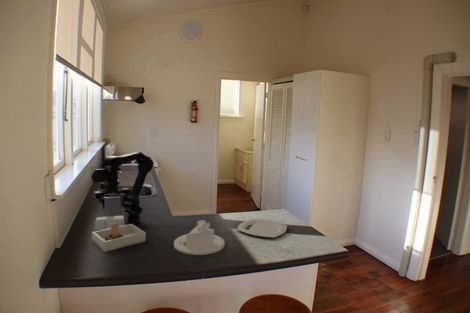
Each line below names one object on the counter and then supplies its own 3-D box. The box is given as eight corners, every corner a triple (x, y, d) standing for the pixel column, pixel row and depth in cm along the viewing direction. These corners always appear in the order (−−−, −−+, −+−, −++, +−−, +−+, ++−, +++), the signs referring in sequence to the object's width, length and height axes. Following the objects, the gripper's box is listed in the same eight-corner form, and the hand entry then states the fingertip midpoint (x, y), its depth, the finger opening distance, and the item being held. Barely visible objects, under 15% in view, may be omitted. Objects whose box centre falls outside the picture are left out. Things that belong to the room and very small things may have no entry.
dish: (197, 231, 165) (197, 211, 164) (234, 243, 151) (235, 221, 150) (163, 245, 145) (163, 223, 144) (202, 260, 131) (202, 235, 130)
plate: (230, 232, 165) (230, 229, 165) (250, 219, 189) (250, 216, 189) (276, 243, 153) (276, 239, 153) (292, 228, 177) (292, 224, 177)
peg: (117, 238, 149) (117, 222, 148) (120, 240, 146) (120, 224, 145) (109, 239, 146) (109, 223, 146) (112, 242, 144) (112, 226, 143)
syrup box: (95, 230, 160) (124, 228, 165) (95, 220, 159) (124, 218, 164) (96, 227, 165) (124, 225, 170) (96, 216, 165) (124, 215, 170)
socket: (119, 236, 151) (119, 232, 151) (125, 240, 146) (125, 236, 146) (105, 239, 146) (105, 235, 146) (110, 244, 141) (110, 240, 141)
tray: (131, 231, 160) (131, 223, 160) (145, 241, 149) (145, 232, 148) (92, 240, 147) (92, 232, 146) (104, 251, 135) (104, 242, 135)
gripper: (123, 176, 170) (123, 202, 172) (88, 179, 158) (88, 208, 159) (131, 179, 162) (131, 207, 164) (95, 183, 150) (96, 213, 151)
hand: (112, 208), depth 160 cm, fingers open, 9 cm apart
